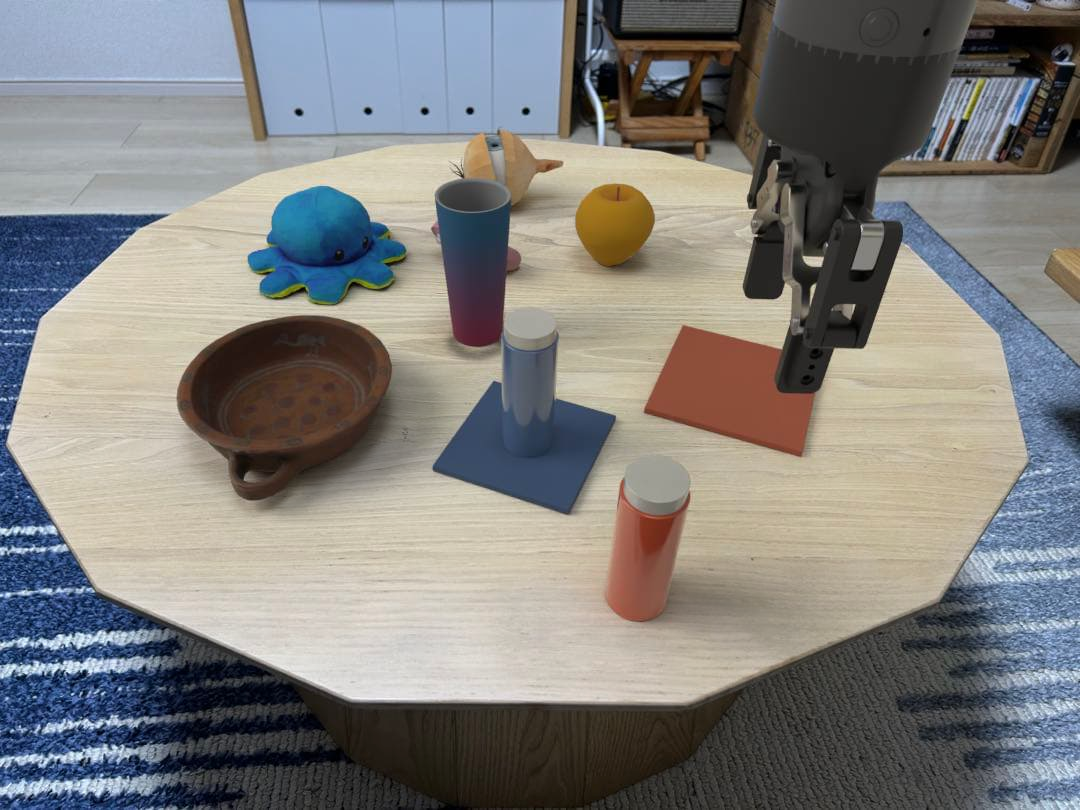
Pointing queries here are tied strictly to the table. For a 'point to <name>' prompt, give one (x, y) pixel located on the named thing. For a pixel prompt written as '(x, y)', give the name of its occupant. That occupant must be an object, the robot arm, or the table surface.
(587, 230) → the apple
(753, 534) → the table surface
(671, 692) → the table surface
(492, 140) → the sculpture
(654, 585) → the terracotta shaker
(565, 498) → the blue mat
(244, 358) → the dish
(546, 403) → the blue shaker
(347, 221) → the plush toy
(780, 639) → the table surface
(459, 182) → the cup
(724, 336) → the terracotta mat
